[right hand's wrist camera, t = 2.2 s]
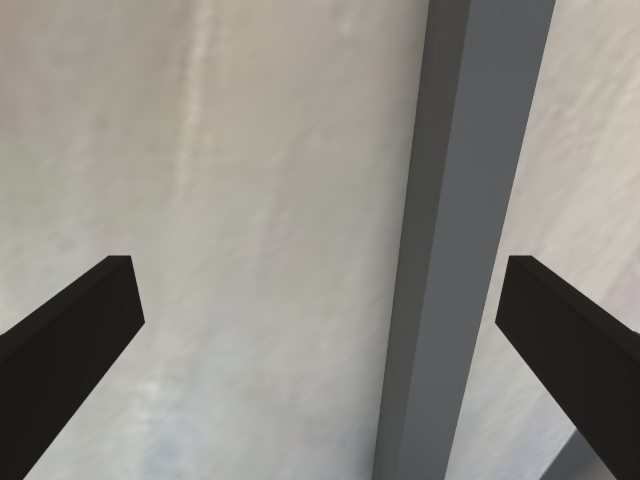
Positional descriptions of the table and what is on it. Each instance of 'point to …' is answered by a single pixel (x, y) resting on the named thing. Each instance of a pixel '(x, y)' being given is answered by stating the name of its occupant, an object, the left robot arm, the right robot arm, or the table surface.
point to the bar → (454, 218)
